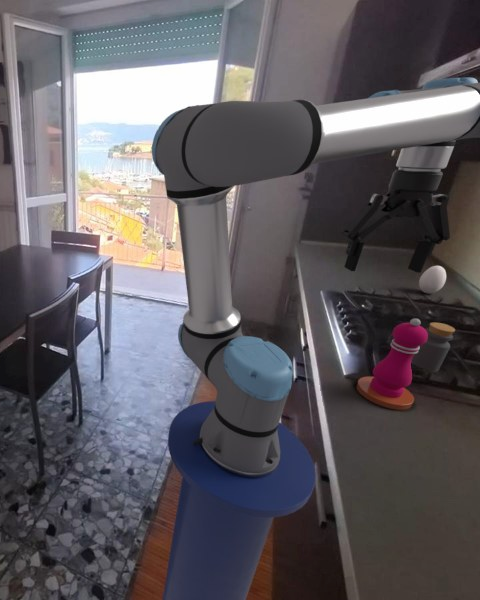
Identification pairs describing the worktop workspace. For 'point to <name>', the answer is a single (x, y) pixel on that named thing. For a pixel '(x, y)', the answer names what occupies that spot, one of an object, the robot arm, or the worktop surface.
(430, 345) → the bottle
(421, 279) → the egg
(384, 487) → the worktop surface
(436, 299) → the worktop surface
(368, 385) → the trivet
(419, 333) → the pepper mill
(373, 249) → the worktop surface
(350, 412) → the worktop surface
